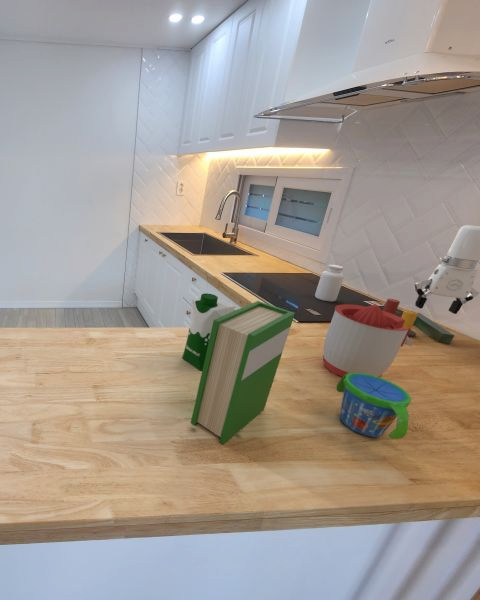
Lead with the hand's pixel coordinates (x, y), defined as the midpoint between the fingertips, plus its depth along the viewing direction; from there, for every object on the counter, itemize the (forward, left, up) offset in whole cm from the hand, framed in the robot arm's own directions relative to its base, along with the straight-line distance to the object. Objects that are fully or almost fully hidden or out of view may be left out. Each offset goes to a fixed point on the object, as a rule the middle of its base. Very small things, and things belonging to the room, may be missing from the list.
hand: (435, 309), depth 119 cm
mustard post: (+10, +6, -8) cm, 14 cm away
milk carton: (+78, +57, -9) cm, 97 cm away
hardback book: (+72, +78, -9) cm, 106 cm away
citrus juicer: (+38, +45, -9) cm, 59 cm away
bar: (0, 0, -8) cm, 8 cm away
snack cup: (+45, +70, -9) cm, 83 cm away
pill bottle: (+26, -22, -9) cm, 35 cm away
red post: (+10, -6, -8) cm, 14 cm away
